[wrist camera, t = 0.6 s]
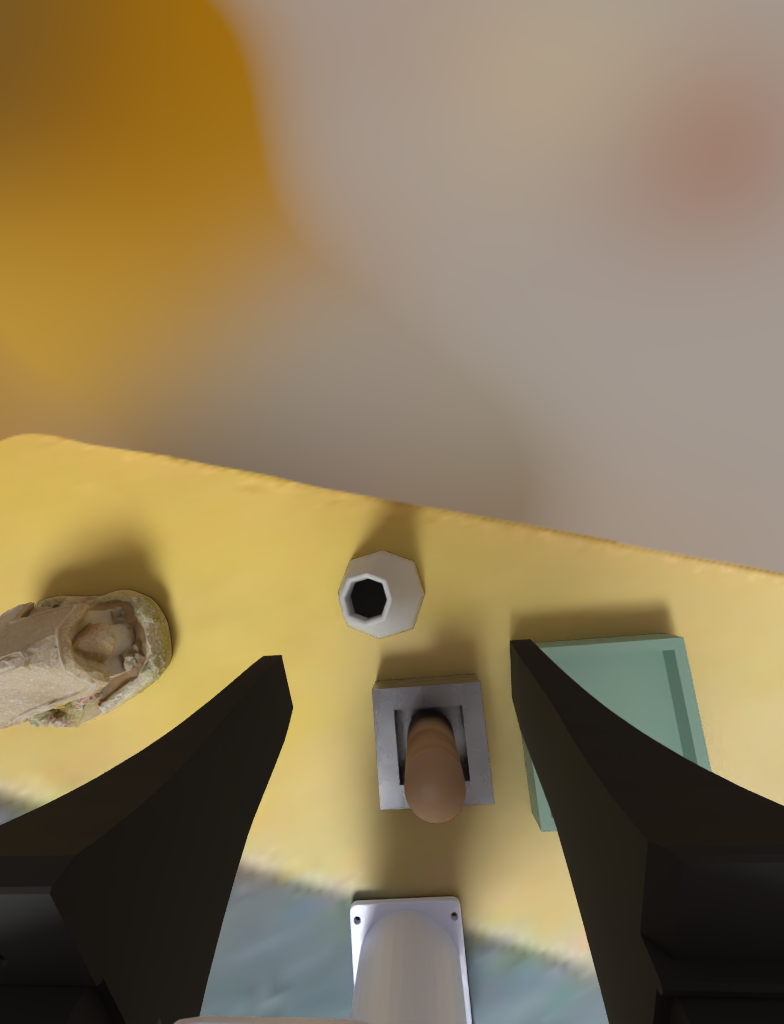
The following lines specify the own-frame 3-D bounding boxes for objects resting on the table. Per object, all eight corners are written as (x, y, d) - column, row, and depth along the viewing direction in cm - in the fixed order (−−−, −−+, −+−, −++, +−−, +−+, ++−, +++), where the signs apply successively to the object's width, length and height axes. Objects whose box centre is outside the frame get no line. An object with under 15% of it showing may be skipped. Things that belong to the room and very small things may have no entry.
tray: (697, 803, 28) (722, 822, 26) (531, 812, 29) (541, 831, 27) (663, 633, 31) (683, 637, 28) (509, 644, 31) (517, 649, 29)
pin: (455, 757, 30) (469, 821, 22) (409, 760, 30) (406, 824, 22) (450, 708, 30) (462, 753, 22) (405, 711, 30) (401, 757, 22)
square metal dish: (488, 784, 30) (494, 803, 27) (383, 791, 30) (380, 809, 27) (475, 673, 31) (480, 681, 28) (375, 681, 31) (372, 689, 29)
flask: (425, 551, 33) (428, 538, 23) (424, 640, 32) (426, 666, 22) (340, 549, 33) (308, 536, 24) (336, 636, 32) (300, 661, 22)
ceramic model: (27, 745, 32) (-143, 816, 23) (7, 614, 34) (-157, 627, 25) (186, 687, 32) (85, 733, 23) (156, 560, 34) (52, 551, 25)
